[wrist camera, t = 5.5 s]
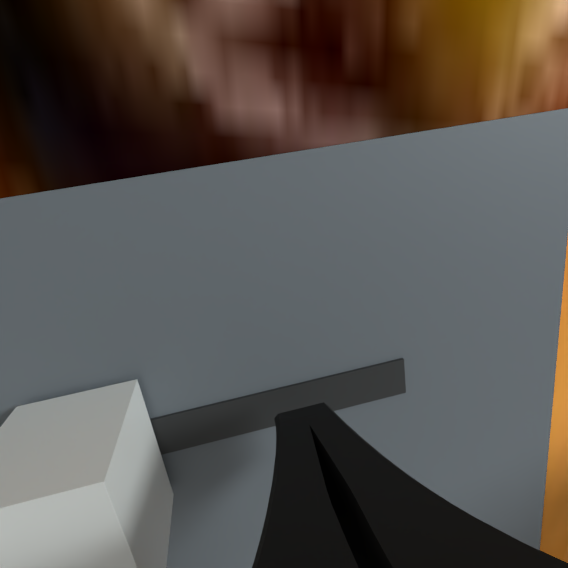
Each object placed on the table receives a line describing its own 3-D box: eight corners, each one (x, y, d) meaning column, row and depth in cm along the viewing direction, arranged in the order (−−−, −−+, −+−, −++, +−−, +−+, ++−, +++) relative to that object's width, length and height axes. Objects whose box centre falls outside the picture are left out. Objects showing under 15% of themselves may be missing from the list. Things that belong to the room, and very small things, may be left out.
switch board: (548, 111, 11) (582, 105, 10) (514, 634, 19) (531, 661, 18) (-225, 233, 9) (-282, 243, 8) (96, 783, 16) (88, 824, 15)
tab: (137, 379, 10) (103, 481, 7) (173, 494, 11) (159, 626, 8) (16, 406, 10) (-80, 528, 7) (68, 522, 11) (9, 673, 8)
